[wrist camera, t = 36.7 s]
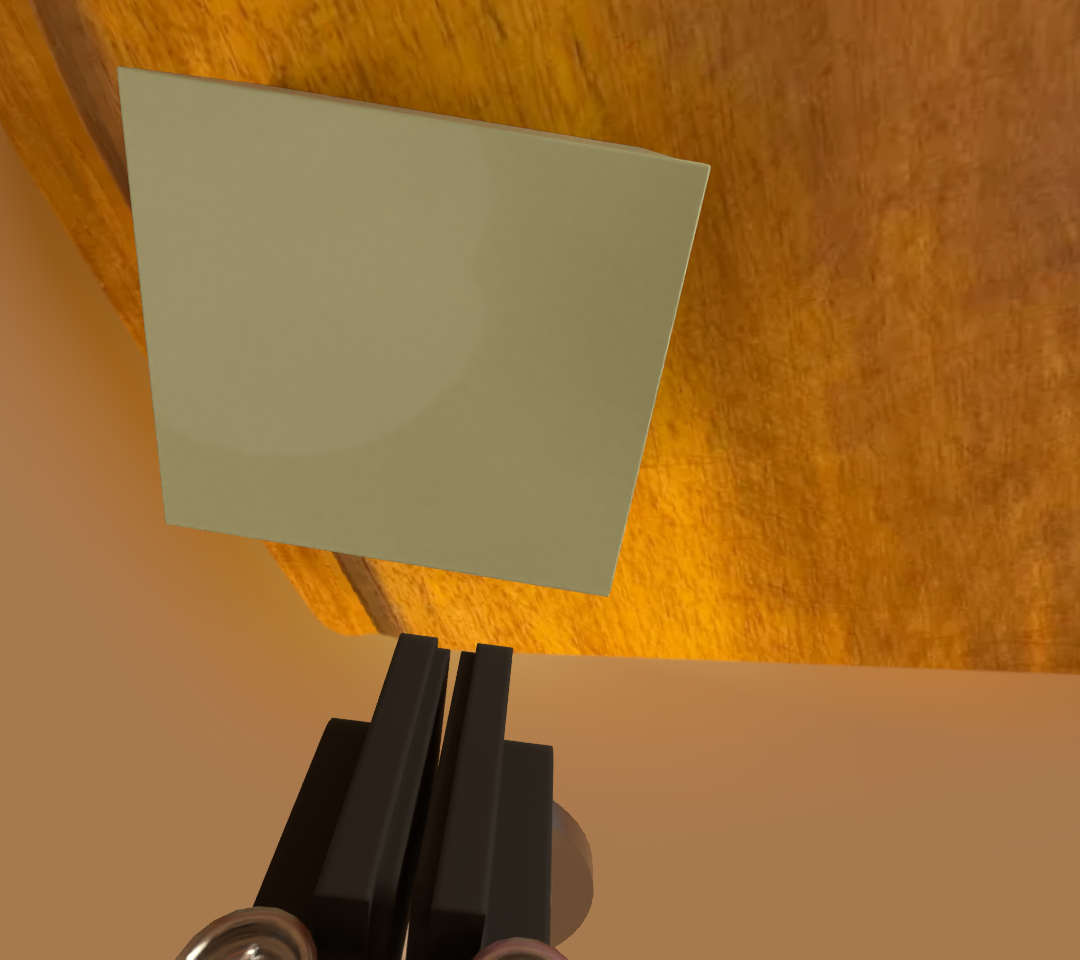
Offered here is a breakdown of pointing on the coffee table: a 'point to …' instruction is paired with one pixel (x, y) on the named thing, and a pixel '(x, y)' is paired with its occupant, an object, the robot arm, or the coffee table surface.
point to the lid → (401, 326)
